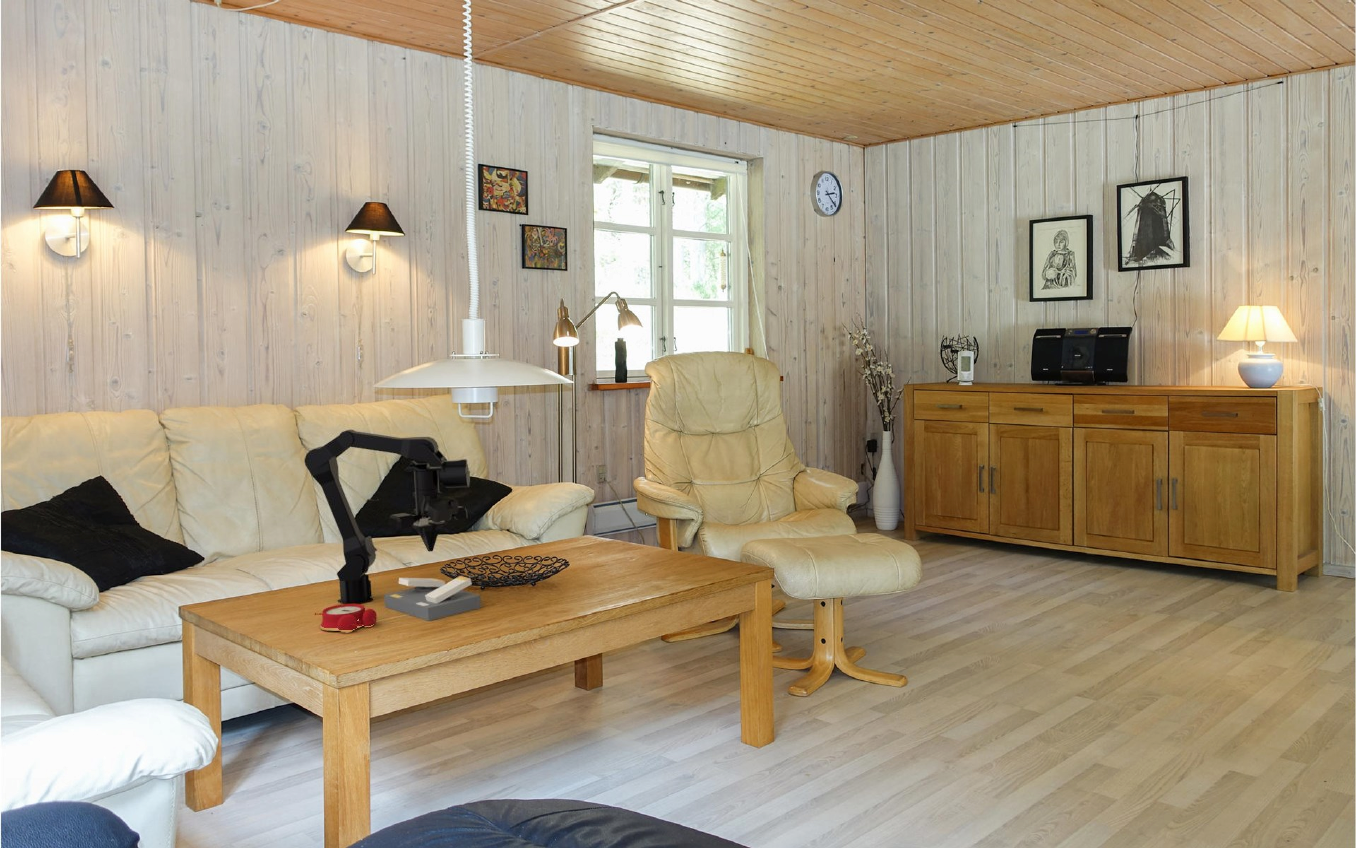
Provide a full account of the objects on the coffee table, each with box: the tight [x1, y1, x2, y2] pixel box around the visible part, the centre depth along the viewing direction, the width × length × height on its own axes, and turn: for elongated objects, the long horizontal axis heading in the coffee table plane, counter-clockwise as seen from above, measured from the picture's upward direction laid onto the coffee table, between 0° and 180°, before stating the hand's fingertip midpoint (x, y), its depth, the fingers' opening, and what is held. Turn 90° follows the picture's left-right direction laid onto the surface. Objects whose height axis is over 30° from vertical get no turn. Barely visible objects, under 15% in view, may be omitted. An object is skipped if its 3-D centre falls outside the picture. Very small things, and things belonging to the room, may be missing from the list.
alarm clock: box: [314, 603, 378, 630], centre depth 228 cm, size 10×6×15 cm
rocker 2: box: [425, 575, 473, 604], centre depth 238 cm, size 10×4×2 cm, turn 134°
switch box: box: [383, 586, 482, 622], centre depth 242 cm, size 14×20×4 cm
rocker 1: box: [398, 577, 446, 587], centre depth 247 cm, size 10×4×2 cm, turn 134°
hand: (430, 551), depth 251 cm, fingers closed
